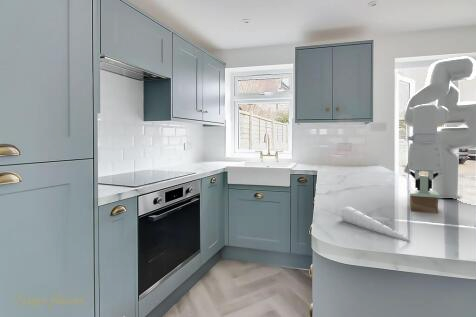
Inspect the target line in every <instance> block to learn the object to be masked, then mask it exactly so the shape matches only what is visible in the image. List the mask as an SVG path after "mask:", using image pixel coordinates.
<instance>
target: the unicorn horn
mask: <svg viewBox="0 0 476 317" xmlns="http://www.w3.org/2000/svg"><path fill="white" fill-rule="evenodd" d="M340 218H341V220H342V221H343V222H346V223H348V224H352V225H355V226H358V227H360V228H364V229H366V230H370V231H373V232H376V233H379V234H382V235H386V236H389V237H391V238H396V239H398V240H402V241H405V242H411V239H409V238H408V237H406V236H404V234H402V233H400V232H398V231H396V230H394V229H393V228H391V227H389V226H387V225H386V224H383V223H382V222H380V221H378V220H376V219H374V218H373V217H370V216H368V215H367V214H365V213H362V212H361V211H359V210H357V209H355V208H353V207H351V206H345V207H343V208H342V209H341V211H340Z"/></svg>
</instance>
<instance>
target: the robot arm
mask: <svg viewBox="0 0 476 317" xmlns="http://www.w3.org/2000/svg"><path fill="white" fill-rule="evenodd" d="M427 72H428V73H427V77H426V81H425V84H424V87H422V88H421V89H419V90H418V91H417V92H416V93H415V94H413V95H412V96H411V97H410V98H409V100H408V101H407V104H406V108H405V111H404V117H403V118H404V119H403V120H404V123H405V124H406V126H407V127H411V128H412V135H411V136H408V137H407V140H408V141H411V142H412V143H410V144H409V149H408V156H407V165H406V166H405V168H404V170H403V172H404V173H406V174H409V175H411V176H412V178H414V180H415V182H414V183H415V184H414V185H415V186H414V188H415V189H416V190H418V191H419V190H420V178H419V175H420V172H428V191H430V190H431V189H432V190H431V191H436V192H437V193H438V194H439V195H440V196H439V198H438V199H442V198H453V199H452V200H460V199H462V195H461V194H458V185H459V184H458V182H459V180H458V179H459V157H458V156H457V154H456V153H454V151H453V150H456V149H459V150H460V149H465V150H470V149H475V148H476V101H461V102H460V90H459V88H457V87H456V86H455V84H453V83H452V82H461V81H468V80H469V81H470V80H472V79H474V78H475V76H476V60H475V59H474V58H472V57H469V56H460V57H452V58H447V59H446V58H445V59H441V60H437V61H435V62H433V63H432V64H431V65H430V66H429V68H428V70H427ZM435 101H436V102H435ZM433 102H435V103H436V104H433ZM431 103H432V104H431ZM444 125H466V126H457V127H456V126H454V127H453V126H450V127H441V126H444Z"/></svg>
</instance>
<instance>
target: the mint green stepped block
mask: <svg viewBox="0 0 476 317" xmlns="http://www.w3.org/2000/svg"><path fill="white" fill-rule="evenodd" d="M428 177H429V175H427V174H419V178H420V190H419V191H418V190H417V189H413V188H412V189H410V188H409V189H408V192H409V197H410V196H421V197H436V198H438V199H440V198H439V196H440V195H439V194H438V193H437V192H436V191H432V190H431V189H430V191H428Z"/></svg>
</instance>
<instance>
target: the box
mask: <svg viewBox="0 0 476 317" xmlns="http://www.w3.org/2000/svg"><path fill="white" fill-rule="evenodd" d="M409 209H410V212H419V213H431V214H438V213H439V198H436V197H421V196H410V195H409Z"/></svg>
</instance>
